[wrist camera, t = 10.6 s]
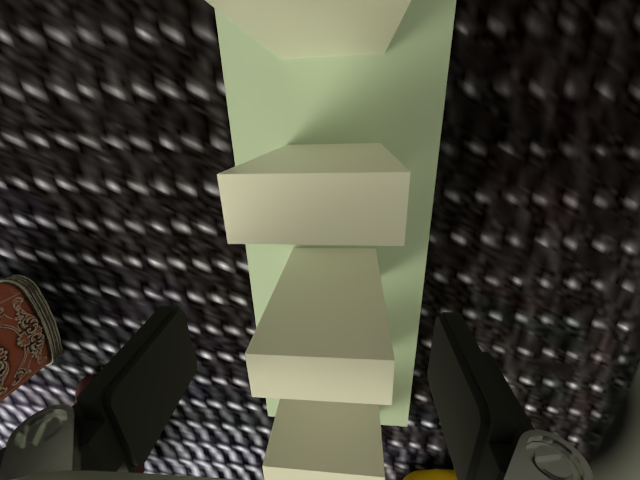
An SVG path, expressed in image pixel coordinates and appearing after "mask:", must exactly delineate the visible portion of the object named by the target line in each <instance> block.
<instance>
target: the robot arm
mask: <svg viewBox="0 0 640 480" xmlns="http://www.w3.org/2000/svg"><path fill="white" fill-rule="evenodd" d="M196 370H197V361H196V357H195V353H194V349H193V345H192V341H191V337H190V333H189V330H188V326H187V322H186V318H185V314H184V312H183V310H180V308H179V307H178V306H161V307H160V308H159V309H158V310H157V311H156V312H155V313H154V314H153V315H152V316H151V317H150V318H149V319H148V320H147V321H146V323H145V324H144V325H143V326H142V327H141V328H140V329H139V330H138V331H137V332H136V333H135V334H134V335H133V337H132V338H131V339H130V340H129V341H128V342H127V343H126V344H125V345H124V346H123V347H122V348H121V349H120V351H119V352H118V353H117V354H116V355H115V356H114V357H113V358H112V359H111V360H110V361H109V362H108V363H107V365H106V366H105V367H104V368H103V369H102V370H101V371H100V372H99V373H98V374H97V375H96V376H95V378H94V379H93V380H92V381H91V382H90V383H89V384H88V385H87V386H86V387H85V388H84V389H83V390H82V392H81V393H80V394H79V395H78V396H77V397H76V400H77V402H76V403H75V404H74V405H73V406H72V407H71V406H69V405H64V404H61V405H54V406H51V407H48V408H45V409H43V410H41V411H39V412H37V413H35V414H34V415H32V416H31V417H29V418H28V419H26V420H25V421H24V422H23V423H22V424H20V425H19V426H18V427H17V428H16V429H15V430H14V432H13V433H12V434H11V436H10V437H9V440H8V442H7V444H6V448H4V449H2V450H0V480H235V479H221V478H207V477H192V476H176V475H161V474H146V473H135V472H136V470H137V468H138V466H141V465H143V464H144V463H145V461H146V459H147V458H148V456H149V454H150V452H151V451H152V449H153V447H154V445H155V444H156V442H157V440H158V438H159V436H160V435H161V433H162V431H163V429H164V428H165V426H166V424H167V422H168V421H169V419H170V417H171V415H172V413H173V412H174V410H175V408H176V406H177V405H178V403H179V401H180V399H181V398H182V396H183V394H184V392H185V390H186V389H187V387H188V385H189V383H190V382H191V380H192V378H193V376H194V375H195V373H196ZM427 376H428V383H429V386H430V390H431V393H432V396H433V400H434V403H435V406H436V410H437V413H438V416H439V420H440V423H441V427H442V430H443V433H444V437H445V440H446V443H447V447H448V450H449V453H450V457H451V460H452V463H453V467H454V470H455V473H456V477H457V480H593V476H592V472H591V469H590V467H589V465H588V463H587V462H586V460H585V459H584V458H583V456H582V455H581V454H580V453H579V452H578V451H577V450H576V449H575V448H574V447H573V446H572V445H571V444H569V443H568V442H566V441H565V440H563V439H562V438H560V437H559V436H556V435H554V434H552V433H550V432H546V431H542V430H535V429H534V428H533V426H532V424H531V423H530V421H529V419H528V417H527V416H526V414H525V412H524V411H523V409H522V407H521V405H520V404H519V402H518V400H517V399H516V397H515V395H514V393H513V392H512V390H511V388H510V387H509V385H508V383H507V381H506V380H505V378H504V376H503V375H502V373H501V371H500V369H499V368H498V366H497V364H496V363H495V361H494V359H493V358H492V356H491V355H490V354H489V353H487V352H482V351H481V349H480V348H479V346H478V344H477V342H476V340H475V339H474V337H473V335H472V333H471V331H470V330H469V328H468V326H467V324H466V322H465V320H464V319H463V317H462V315H461V314H460V313H455V312H443V313H442V314H441V316H437V317H436V319H435V326H434V332H433V339H432V346H431V352H430V359H429V365H428V373H427Z"/></svg>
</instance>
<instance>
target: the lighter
mask: <svg viewBox="0 0 640 480" xmlns="http://www.w3.org/2000/svg"><path fill="white" fill-rule="evenodd" d="M61 355H62V345H61V338H60V334H59V331H58V328H57V324H56V321H55V319H54V317H53V314H52V312H51V310H50V308H49V306H48V303H47V302H46V300H45V298H44V296H43V295H42V293H41V291H40V290H39V288H38V286H37V285H36V284H35V283H34V282H33V281H32V280H31V279H29V278H27V277H25V276H21V275H12V276H10V277H8V278H6V279H4V280H2V281H0V402H1V401H2V400H3V399H5V398H6V397H7V396H8V395H10V394H11V393H12V392H13V391H15V390H16V389H17V388H18V387H20V386H21V385H22V384H23V383H24V382H26V381H27V380H28V379H29V378H31V377H32V376H33V375H34V374H36V373H37V372H38V371H39V370H41V369H42V368H43V367H44V366H48V365H50V364H52V363H53V362H54V361H55V360H57V359H58V358H59V357H60V356H61Z"/></svg>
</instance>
